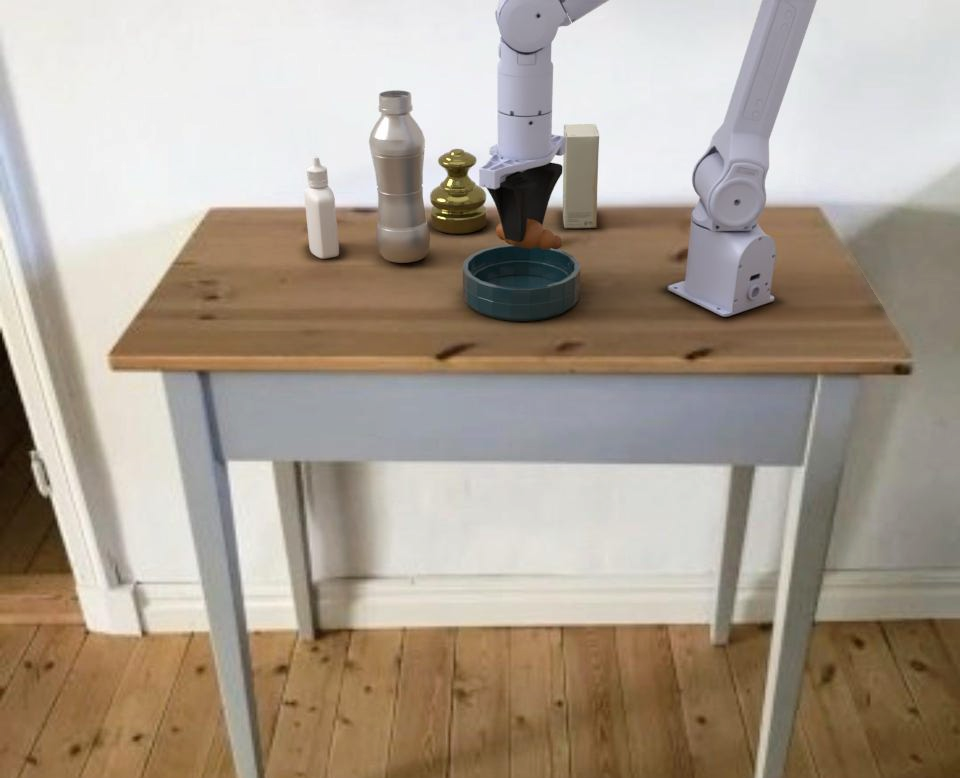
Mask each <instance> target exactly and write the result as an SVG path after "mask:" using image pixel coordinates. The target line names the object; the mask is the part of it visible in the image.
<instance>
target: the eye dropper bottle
mask: <svg viewBox="0 0 960 778" xmlns="http://www.w3.org/2000/svg"><path fill="white" fill-rule="evenodd" d="M306 176H307V187H306V188H305V189H304V206H305V216H306V226H307V237H308V247H309V251H310V252H311V254H312V255H314V256H315V257H316V258H319V259H322V260H324V259H325V260H326V259H332V258H337V257H338V256H339V254H340V245H339V232H338V221H337V211H336V210H337V209H336V200H335V194H334V192H333V189H332V188H331V187H330V186H329V178H328V177H329V176H328V168H327V167H326V166H324V165H322V163H321V160H320V157H319V156H313V157H312V162H311V166H309V167H307V168H306Z"/></svg>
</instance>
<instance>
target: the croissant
mask: <svg viewBox="0 0 960 778" xmlns="http://www.w3.org/2000/svg"><path fill="white" fill-rule="evenodd" d="M495 233H496V236H497V237H498V238H499V239H500V240H501V241H504V242H505V243H507V245H514V246H518V247H522V248H527V249H534V248H536V247H539V248H541V249H543V250H548V249H550V248H553V249H559V250H560V249H561V247H562V245H563V239H562V237H561V236H559V235H557V234H556V235H555V233H554V232H553V231H551V230H550V229H545V228H544V226H543V224H542V225H541V224H540V223H539V222H538V221H536V220H532V219H528V218H527V225H526V233H525V237H524V239H523V241H521V242H517V241H513V240H508V239H505V236H504V232H503V228H502V224H501V221H500V222H499V223H498V224H497V226H496V228H495Z"/></svg>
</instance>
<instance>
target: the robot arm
mask: <svg viewBox="0 0 960 778" xmlns="http://www.w3.org/2000/svg"><path fill="white" fill-rule="evenodd" d="M609 1H610V0H498V3H497V6H496V7H497V8H496V10H495V11H494V14H495V21H496V24H497V26H498V31H499V34H500V37H499V44H498V50H497V51H498V54H497V55H498V57H499V61H498V63H497V68H496V69H497V71H496V72H497V75H496V77H497V81H496V82H497V99H496V101H497V102H496V103H497V144H495V145H492V146H490V147H489V148H488V149H489V155H491V157H490V158H489V160H487V162H486V163H485V164H484V165H483V166H481V167H479V169H478V174H479V175H478V178H479V179H478V180H479V181H478V183H479V184H478V186H480V187H481V188H485V189H486V190H487V192H488V193H489V194H490V196H491V198H492V201H493V203H494V204H495V207H496V210H497V212H498V216H499V220H500V222H501V224H502V228H503V232H504V236H505V239H508V240H513V241H517V242H521V241H523V239H524V237H525V233H526V225H527V218H528V219H532V220H536V221H538V222H539V223H540V224H541V225H542V226H543V224H544V220H545V217H546V213H547V209H548V206H549V202H550V199H551V196H552V193H553V192H554V190H555V187H556V185H557V183H558V181H559V180H560V178H561V176H562V175H563V164H560V163H556V162H552V161H553V159H554V158H555V156H559V157H561V156H564V154H565V149H566V137H565V136H564V135H558V134H553V133H552V130H553V129H552V128H553V126H552V125H553V93H554V92H553V91H554V90H553V89H554V88H553V87H554V64H553V61H552V44H553V43H552V42H553V41H554V39H555V38H556V35H557V33H558V31H559V28H560V27H568V26H570V25H572V24H573V23H575V22H577V21H578V20H580V19H582V18H584V17H585V16H587V15H588V14H590V13H591V12H593V11H594V10H596V9H597V8H600V7H601V6H602V5H605V4H606V3H608V2H609ZM817 1H818V0H761V3H760V6H759V9H758V12H757V15H756V17H755V20H754V21H755V22H754V25H753V28H752V31H751V34H750V37H749V41H748V44H747V47H746V50H745V53H744V57H743V59H742V61H741V66H740V68H739V72H738V75H737V78H736V82H735V85H734V88H733V91H732V93H731V97H730V101H729V104H728V106H727V110H726V113H725V116H724V120H723V123H722V124H721V125H720V126H719V128H717V130H716V131H715V132H714V134H713V135H712V137H711V141H710V143H709V146H708V148H707V149H706V150H705V152H704V154H703V155H701V156H700V158H699V159H698V160H697V162H696V163H695V165H694V168H693V170H692V174H691V183H692V187H693V190H694V192H695V193H696V195H697V196H698V197H699V199H698V202H697V203H696V206H695V207H694V209H693V210H692V212H691V218H690V227H689V236H688V237H689V238H688V248H687V256H686V257H687V258H686V266H685V267H686V268H685V278H684V280H681V281H679V282H676V283H673V284H669V285H668V286H667V291H669V292H672V293H674V294H675V295H677V296H679V297H681V298H684V299H685V300H688V301H689V302H692V303H694V304H696V305H699V306H700V307H702V308H704V309H706V310H708V311H709V312H710V311H711V312H713V313H714V314H715V315H718V316H721V317H724V318H727V317H731V316H733V315H737V314H740V313H742V312H746V311H749V310H752V309H755V308H757V307H760V306H763V305H766V304H769V303H772V302H774V301H775V296H774V295H772V294H771V291H772V286H773V285H772V284H773V278H774V272H775V265H776V258H777V245H776V243H775V240H774V238H773V237H772V236H770V235H768V234H766V232H764V231H763V229H762V228H761V226H760V224H759V217H760V216H761V215H762V213H763V211H764V209H765V207H766V204H767V203H766V202H767V190H766V180H767V179H766V178H767V174H768V171H769V169H770V138H771V135H772V132H773V129H774V128H775V127H774V126H775V124H776V120H777V118H778V115H779V112H780V109H781V107H782V103H783V100H784V99H785V98H784V97H785V94H786V93H787V92H786V91H787V88H788V85H789V83H790V80H791V77H792V74H793V71H794V69H795V65H796V63H797V59H798V57H799V54H800V51H801V48H802V46H803V42H804V39H805V37H806V33H807V31H808V28H809V24H810V23H811V19H812V15H813V13H814V10H815V7H816V5H817Z"/></svg>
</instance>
